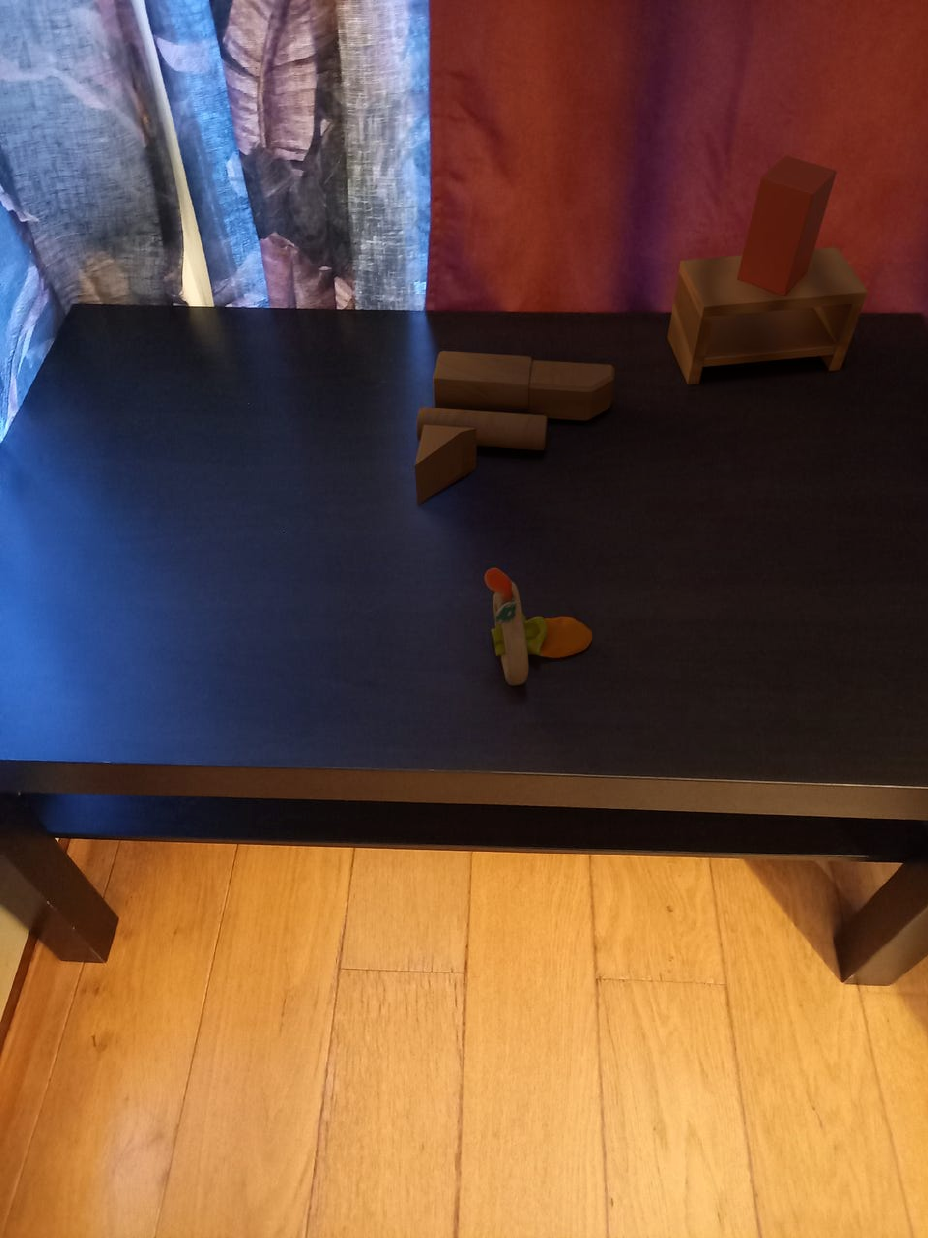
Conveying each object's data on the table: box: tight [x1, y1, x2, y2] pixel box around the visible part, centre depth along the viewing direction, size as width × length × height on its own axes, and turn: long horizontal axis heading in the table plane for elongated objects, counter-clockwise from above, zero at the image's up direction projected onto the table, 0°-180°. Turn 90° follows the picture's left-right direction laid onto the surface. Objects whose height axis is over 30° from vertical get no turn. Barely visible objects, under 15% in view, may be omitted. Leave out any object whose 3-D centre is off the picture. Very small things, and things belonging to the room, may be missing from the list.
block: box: [737, 155, 838, 296], centre depth 87 cm, size 5×5×10 cm
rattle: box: [484, 567, 593, 686], centre depth 70 cm, size 8×8×12 cm
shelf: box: [666, 246, 869, 386], centre depth 95 cm, size 16×8×9 cm, turn 97°
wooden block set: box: [414, 350, 615, 506], centre depth 87 cm, size 17×6×18 cm
